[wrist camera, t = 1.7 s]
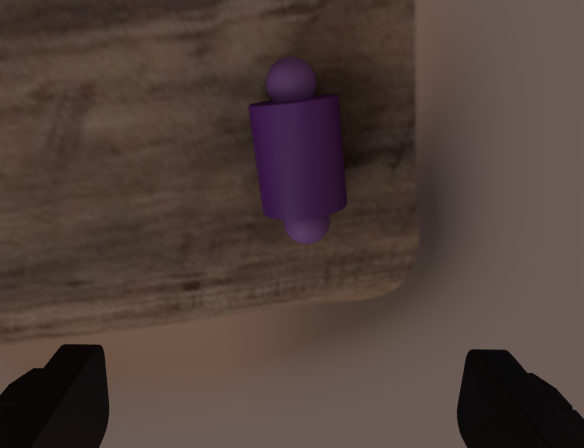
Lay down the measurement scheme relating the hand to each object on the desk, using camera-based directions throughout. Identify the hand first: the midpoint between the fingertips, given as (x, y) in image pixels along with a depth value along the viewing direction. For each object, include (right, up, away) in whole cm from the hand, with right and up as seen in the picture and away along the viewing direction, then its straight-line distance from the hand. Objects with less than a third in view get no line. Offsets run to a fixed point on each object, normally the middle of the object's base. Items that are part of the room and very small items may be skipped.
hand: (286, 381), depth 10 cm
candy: (0, +7, +13) cm, 15 cm away
